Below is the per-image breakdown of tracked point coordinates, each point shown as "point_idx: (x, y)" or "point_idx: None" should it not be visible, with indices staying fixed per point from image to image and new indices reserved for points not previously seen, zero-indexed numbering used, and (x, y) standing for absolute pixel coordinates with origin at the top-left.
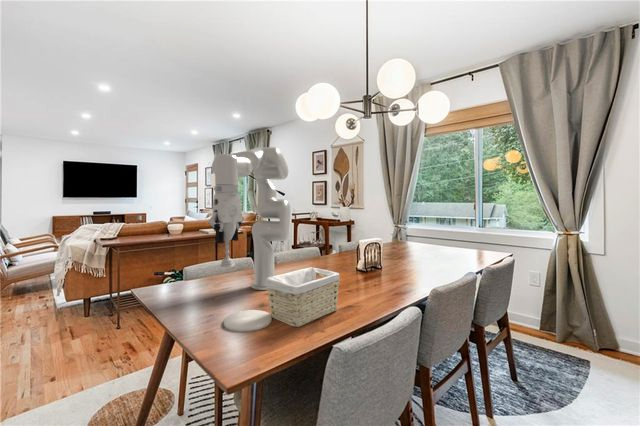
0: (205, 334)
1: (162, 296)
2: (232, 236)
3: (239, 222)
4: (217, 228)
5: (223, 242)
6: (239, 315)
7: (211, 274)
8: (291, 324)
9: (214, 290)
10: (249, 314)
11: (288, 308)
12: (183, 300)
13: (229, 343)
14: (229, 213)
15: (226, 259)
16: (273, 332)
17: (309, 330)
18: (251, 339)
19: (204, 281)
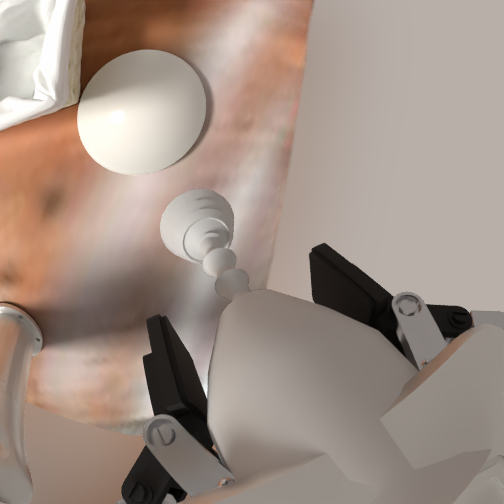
0: (252, 117)
1: None
2: (234, 316)
3: (150, 501)
4: (434, 311)
5: (316, 247)
6: (146, 146)
7: (110, 428)
8: (84, 21)
9: (123, 361)
10: (122, 134)
11: (77, 17)
12: (199, 334)
13: (242, 44)
14: (500, 467)
15: (219, 228)
16: (139, 19)
17: None
18: (199, 24)
19: (130, 407)
